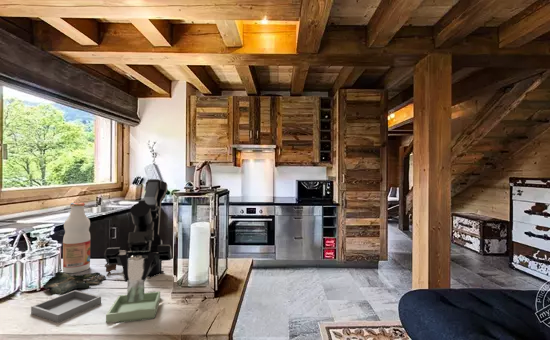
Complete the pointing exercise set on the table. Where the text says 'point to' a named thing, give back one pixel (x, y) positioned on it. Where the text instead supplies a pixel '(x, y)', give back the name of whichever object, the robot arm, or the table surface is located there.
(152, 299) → the tray
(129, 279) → the pebble canister
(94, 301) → the tray
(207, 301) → the table surface
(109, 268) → the brown arched figure
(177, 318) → the table surface
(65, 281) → the decorative rock
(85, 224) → the fruit juice
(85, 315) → the table surface
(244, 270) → the table surface
